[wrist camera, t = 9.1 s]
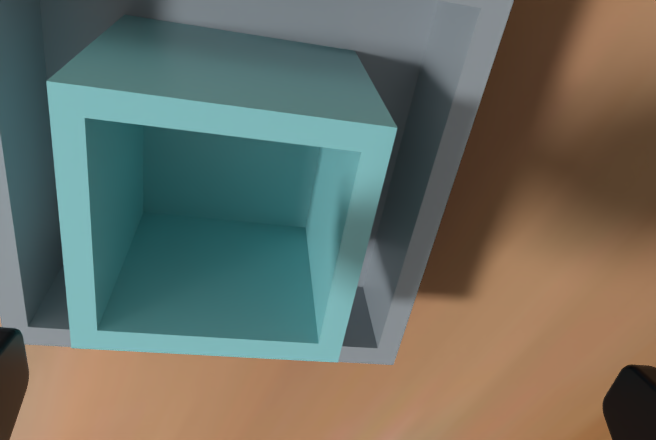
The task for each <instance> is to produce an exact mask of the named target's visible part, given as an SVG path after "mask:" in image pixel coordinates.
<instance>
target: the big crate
mask: <svg viewBox="0 0 656 440" xmlns="http://www.w3.org/2000/svg"><path fill="white" fill-rule="evenodd" d="M513 1H514V0H0V318H1V323H2V327H6V328H16V329H19V330H20V331H21V333H22V335H23V339H24V344H28V345H46V346H64V347H71V339H70V329H69V318H68V307H67V297H66V286H65V275H64V265H63V254H62V243H61V233H60V222H59V211H58V201H57V190H56V179H55V169H54V158H53V147H52V137H51V126H50V115H49V105H48V94H47V83H46V81H47V80H48V79H49V78H50V77H52V76H53V75H54V74H55V73H56V72H57V71H59V70H60V69H61V68H62V67H63V66H65V65H66V64H67V63H68V62H69V61H70V60H72V59H73V58H74V57H75V56H76V55H77V54H79V53H80V52H81V51H82V50H83V49H85V48H86V47H87V46H88V45H89V44H90V43H92V42H93V41H94V40H95V39H96V38H98V37H99V36H100V35H101V34H102V33H103V32H105V31H106V30H107V29H108V28H109V27H111V26H112V25H113V24H114V23H115V22H116V21H118V20H119V19H120V18H121V17H122V16H123V15H130V16H137V17H143V18H149V19H156V20H162V21H169V22H175V23H181V24H188V25H194V26H200V27H207V28H213V29H220V30H226V31H232V32H239V33H245V34H251V35H258V36H264V37H271V38H277V39H283V40H290V41H296V42H302V43H309V44H315V45H322V46H328V47H334V48H341V49H347V50H353V51H355V52H356V54H357V55H358V57H359V59H360V61H361V63H362V65H363V66H364V68H365V70H366V72H367V74H368V75H369V77H370V79H371V81H372V83H373V84H374V86H375V88H376V90H377V92H378V93H379V95H380V97H381V99H382V101H383V103H384V104H385V106H386V108H387V110H388V112H389V113H390V115H391V117H392V119H393V121H394V122H395V124H396V126H397V132H396V136H395V139H394V143H393V147H392V151H391V155H390V159H389V163H388V167H387V171H386V175H385V179H384V183H383V187H382V191H381V195H380V199H379V203H378V206H377V210H376V214H375V218H374V222H373V226H372V230H371V234H370V238H369V242H368V246H367V250H366V254H365V258H364V262H363V266H362V269H361V273H360V277H359V281H358V285H357V289H356V293H355V297H354V301H353V305H352V309H351V313H350V317H349V321H348V325H347V329H346V333H345V336H344V340H343V344H342V348H341V352H340V356H339V360H338V362H350V363H368V364H386V365H393V364H394V361H395V358H396V355H397V352H398V349H399V346H400V343H401V340H402V337H403V334H404V331H405V328H406V325H407V322H408V319H409V316H410V313H411V310H412V307H413V304H414V301H415V298H416V295H417V292H418V289H419V286H420V283H421V280H422V277H423V274H424V271H425V268H426V265H427V261H428V258H429V255H430V252H431V249H432V246H433V243H434V240H435V237H436V234H437V231H438V228H439V225H440V222H441V219H442V216H443V213H444V210H445V207H446V204H447V201H448V198H449V195H450V192H451V189H452V186H453V183H454V180H455V177H456V174H457V171H458V168H459V165H460V162H461V159H462V156H463V153H464V150H465V147H466V144H467V141H468V138H469V134H470V131H471V128H472V125H473V122H474V119H475V116H476V113H477V110H478V107H479V104H480V101H481V98H482V95H483V92H484V89H485V86H486V83H487V80H488V77H489V74H490V71H491V68H492V65H493V62H494V59H495V56H496V53H497V50H498V47H499V44H500V41H501V38H502V35H503V32H504V29H505V26H506V23H507V20H508V17H509V14H510V11H511V7H512V4H513Z"/></svg>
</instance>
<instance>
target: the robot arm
mask: <svg viewBox="0 0 656 440" xmlns="http://www.w3.org/2000/svg"><path fill="white" fill-rule="evenodd" d="M28 380H29V369H28V363H27V357H26V351H25V345H24V339H23V335H22V333H21V331H20V330H19V329H16V328H6V327H0V440H10V437H11V434H12V431H13V428H14V425H15V422H16V419H17V416H18V413H19V410H20V407H21V404H22V401H23V398H24V396H25V393H26V389H27V386H28ZM603 414H604V417H605V420H606V423H607V426H608V429H609V432H610V434H611V437H612V440H656V368H655V367H652V366H646V365H627V366H625V367H624V368H623V369H622V370H621V371H620V373H619V374H618V376H617V378H616V379H615V381H614V383H613V384H612V386H611V387H610V389H609V391H608V392H607V394H606V396H605V397H604V400H603Z"/></svg>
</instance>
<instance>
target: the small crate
mask: <svg viewBox="0 0 656 440" xmlns="http://www.w3.org/2000/svg"><path fill="white" fill-rule="evenodd" d="M46 83H47V94H48V105H49V115H50V126H51V137H52V147H53V158H54V169H55V179H56V190H57V201H58V211H59V222H60V233H61V243H62V254H63V265H64V275H65V286H66V297H67V307H68V318H69V329H70V339H71V348H80V349H99V350H118V351H136V352H155V353H173V354H192V355H210V356H229V357H247V358H266V359H284V360H303V361H321V362H338V360H339V356H340V352H341V348H342V344H343V340H344V336H345V333H346V329H347V325H348V321H349V317H350V313H351V309H352V305H353V301H354V297H355V293H356V289H357V285H358V281H359V277H360V273H361V269H362V266H363V262H364V258H365V254H366V250H367V246H368V242H369V238H370V234H371V230H372V226H373V222H374V218H375V214H376V210H377V206H378V203H379V199H380V195H381V191H382V187H383V183H384V179H385V175H386V171H387V167H388V163H389V159H390V155H391V151H392V147H393V143H394V139H395V136H396V132H397V126H396V124H395V122H394V121H393V119H392V117H391V115H390V113H389V112H388V110H387V108H386V106H385V104H384V103H383V101H382V99H381V97H380V95H379V93H378V92H377V90H376V88H375V86H374V84H373V83H372V81H371V79H370V77H369V75H368V74H367V72H366V70H365V68H364V66H363V65H362V63H361V61H360V59H359V57H358V55H357V54H356V52H355V51H353V50H347V49H341V48H334V47H328V46H322V45H315V44H309V43H302V42H296V41H290V40H283V39H277V38H271V37H264V36H258V35H251V34H245V33H239V32H232V31H226V30H220V29H213V28H207V27H200V26H194V25H188V24H181V23H175V22H169V21H162V20H156V19H149V18H143V17H137V16H130V15H123V16H122V17H121V18H120V19H119V20H118V21H116V22H115V23H114V24H113V25H112V26H111V27H109V28H108V29H107V30H106V31H105V32H103V33H102V34H101V35H100V36H99V37H98V38H96V39H95V40H94V41H93V42H92V43H90V44H89V45H88V46H87V47H86V48H85V49H83V50H82V51H81V52H80V53H79V54H77V55H76V56H75V57H74V58H73V59H72V60H70V61H69V62H68V63H67V64H66V65H65V66H63V67H62V68H61V69H60V70H59V71H57V72H56V73H55V74H54V75H53V76H52V77H50V78H49V79H48V80H47V81H46Z"/></svg>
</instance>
